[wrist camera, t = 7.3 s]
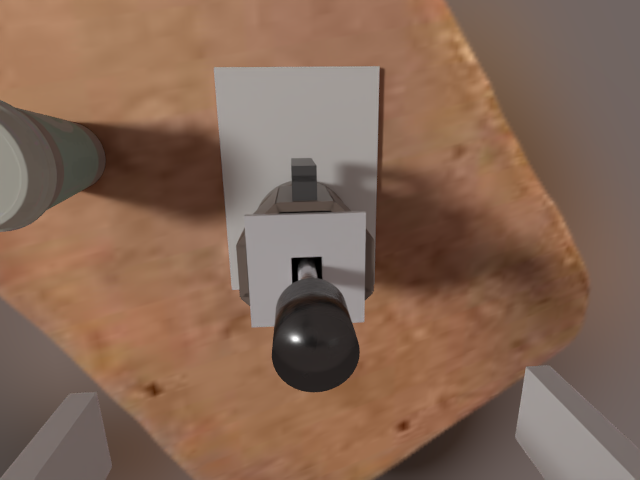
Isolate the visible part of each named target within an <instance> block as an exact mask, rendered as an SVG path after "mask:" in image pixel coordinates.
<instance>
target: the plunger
mask: <svg viewBox="0 0 640 480" xmlns="http://www.w3.org/2000/svg"><path fill="white" fill-rule="evenodd" d="M297 264H298V281H296V282H294V283H292V284H291V285H289V286H288V287H287V288H286V289H285V290H284V291H283V292H282V294H281V295H280V297H279V299H278V302H277V305H276V313H275V324H274V336H273V347H272V361H273V365H274V368H275V370H276V372H277V373H278V375H279V376H280V378H281V379H282V380H283V381H284V382H286V383H287V384H288V385H290V386H292V387H293V388H295V389H298V390H301V391H306V392H322V391H327V390H330V389H333V388H335V387H337V386H339V385H340V384H342V383H343V382H345V381H346V380H347V379H348V378H349V377H350V376H351V374H352V373H353V372H354V370H355V368H356V366H357V363H358V360H359V353H360V351H359V344H358V340H357V337H356V334H355V330H354V327H353V324H352V321H351V318H350V314H349V311H348V308H347V305H346V302H345V299H344V297H343V295H342V293H341V292H340V290H339V289H338V288H337V287H336V286H334V285H333V284H331V283H330V282H328V281H325V280H322V279H318V278H317V272H316V266H315V260H314V257H297Z"/></svg>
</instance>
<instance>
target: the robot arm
mask: <svg viewBox="0 0 640 480" xmlns="http://www.w3.org/2000/svg"><path fill="white" fill-rule="evenodd" d="M515 438H516V440H517V441H518V443H519V444H520V445H521V447H522V448H523V450H524V451H525V452H526V454H527V455H528V456H529V458H530V459H531V461H532V462H533V463H534V465H535V466H536V468H537V469H538V470H539V472H540V473H541V475H542V476H543V477H544V479H545V480H640V450H639V448H638V447H636V446H635V445H634V444H633V443H632V442H631V441H630V440H629V439H628V438H626V436H625V435H624V434H622V433H621V432H620V431H619V430H618V429H617V428H616V427H615V426H614V425H613V424H612V423H611V422H609V421H608V420H607V419H606V418H605V417H604V416H603V415H602V414H601V413H600V412H599V411H598V410H597V409H595V407H593V406H592V405H591V404H590V403H589V402H588V401H587V400H586V399H585V398H584V397H582V395H581V394H579V393H578V392H577V391H576V390H575V389H574V388H573V387H572V386H571V385H570V384H569V383H568V382H567V381H565V380H564V379H563V378H562V377H561V376H560V375H559V374H558V373H557V372H556V371H555V370H554V369H553V368H551V367H550V366H549V365H547V366H530V367H526V371H525V377H524V384H523V390H522V397H521V404H520V409H519V416H518V423H517V429H516V435H515ZM111 468H112V464H111V459H110V454H109V450H108V445H107V440H106V435H105V430H104V425H103V421H102V415H101V411H100V406H99V401H98V396H97V392H87V393H71V394H69V395H68V396H67V398H65V400H64V401H63V402H62V403H61V405H60V406H59V407H58V409H57V410H56V411H55V412H54V413H53V414H52V416H51V417H50V418H49V419H48V421H47V422H46V423H45V425H43V427H42V428H41V429H40V431H39V432H38V433H37V434H36V436H35V437H34V438H33V439H32V440H31V441H30V443H29V444H28V445H27V446H26V448H25V449H24V450H23V451H22V452H21V454H20V455H19V456H18V457H17V459H16V460H15V461H14V463H13V464H12V465H11V466H10V467H9V468H8V470H7V471H6V472H5V474H4V475H3V476H2V477H1V478H0V480H105V479H106V477H107V475H108V473H109V471H110V469H111Z"/></svg>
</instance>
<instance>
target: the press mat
mask: <svg viewBox="0 0 640 480" xmlns="http://www.w3.org/2000/svg"><path fill="white" fill-rule="evenodd" d="M379 67H380V66H364V67H214V76H215V88H216V101H217V113H218V125H219V137H220V150H221V162H222V174H223V186H224V198H225V211H226V223H227V235H228V247H229V260H230V272H231V284H232V290H239V277H238V264H237V251H236V244H237V242H238V240H239V238H240V236H241V234H242V232H243V230H244V227H245V223H244V215H247V214H253V213H254V212H255V211H256V210H257V209H258V207H259V205H260V203H261V202H262V200H263V199H264V197H265V196H266V195H267V194H268V193H269V192H270V191H271V190H273V189H274V188H276V187H277V186H279V185H281V184H283V183H286V182H289V181H292V177H291V158H312V160H313V161H314V163H315V164H316V165H317V182H318V183H321V184H323V185H325V186H327V187H328V188H330V189H331V190H333V191H334V192H335V193H336V194H337V195H338V196H339V197H340V199H341V200H342V201H343V203H344V204H345V205H346V206H347V207H348V208H349V209H350V210H351V211H365V212H366V229H367V230H368V232H369V233H370V234H371V236H372V237H373V238H374V240H375V237H376V195H377V152H378V110H379ZM374 280H375V248H374Z"/></svg>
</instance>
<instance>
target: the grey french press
mask: <svg viewBox="0 0 640 480" xmlns="http://www.w3.org/2000/svg"><path fill="white" fill-rule="evenodd" d="M291 177H292V181H289V182H286V183H283V184H281V185H279V186H277V187H276V188H274V189H273V190H271V191H270V192H269V193H268V194H267V195H266V196H265V197H264V199H263V200H262V202H261V203H260V205H259V207H258V209H257V210H256V211H255V212H254V213H253V214H247V215H244V223H245V227H244V230H243V232H242V234H241V236H240V238H239V240H238V242H237V244H236V251H237V264H238V277H239V291H240V297H241V299H242V300H243V301H244V302H246V303H247V304H248V305H249V306H250V310H251V324H252V327H270V326H274V324H275V313H276V305H277V302H278V299H279V297H280V295H281V294H282V292H283V291H284V290H285V289H286V288H287V287H288V286H289V285H291V284H292V283H294V282H296V281H298V264H297V257H314V260H315V266H316V272H317V278H318V279H322V280H325V281H328V282H330V283H331V284H333V285H334V286H336V287H337V288H338V289H339V290H340V292H341V293H342V295H343V297H344V299H345V302H346V305H347V308H348V311H349V314H350V318H351V321H352V323H355V322H364V303H365V300H366V299H367V298H368V297H369V296H370V295H371V294H372V293H373V292H374V248H375V240H374V238H373V237H372V236H371V234H370V233H369V232H368V230H367V229H366V212H365V211H351V210H350V209H349V208H348V207H347V206H346V205H345V204H344V203H343V201H342V200H341V199H340V197H339V196H338V195H337V194H336V193H335V192H334V191H333V190H331V189H330V188H328V187H327V186H325V185H323V184H321V183H318V182H317V165H316V164H315V163H314V161H313V160H312V158H291Z"/></svg>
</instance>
